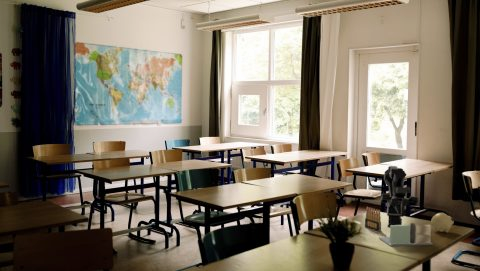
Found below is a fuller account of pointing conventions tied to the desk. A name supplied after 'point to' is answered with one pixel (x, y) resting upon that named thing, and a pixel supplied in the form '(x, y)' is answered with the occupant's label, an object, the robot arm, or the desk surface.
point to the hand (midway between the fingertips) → (400, 213)
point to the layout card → (387, 241)
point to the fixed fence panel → (420, 233)
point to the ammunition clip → (373, 219)
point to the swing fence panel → (399, 234)
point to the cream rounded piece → (442, 222)
